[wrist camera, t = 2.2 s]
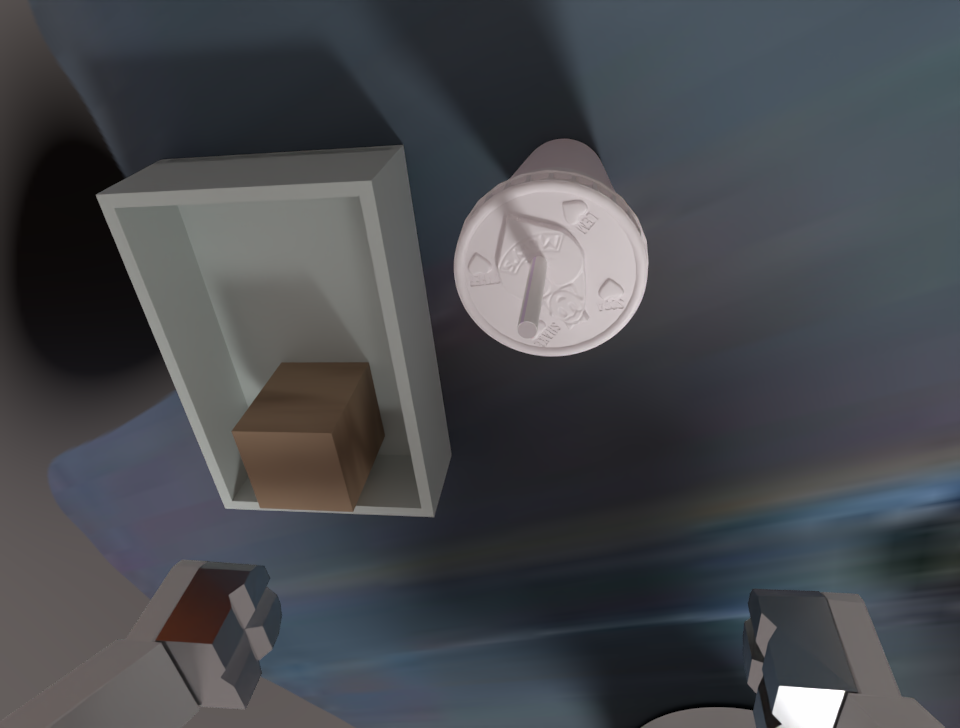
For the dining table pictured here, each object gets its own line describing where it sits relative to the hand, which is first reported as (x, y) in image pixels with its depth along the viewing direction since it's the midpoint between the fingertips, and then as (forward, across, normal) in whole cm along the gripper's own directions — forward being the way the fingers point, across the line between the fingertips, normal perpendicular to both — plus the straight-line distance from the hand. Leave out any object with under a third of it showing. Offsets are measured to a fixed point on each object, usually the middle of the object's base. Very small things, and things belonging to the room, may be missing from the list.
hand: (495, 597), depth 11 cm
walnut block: (+22, +13, +12) cm, 28 cm away
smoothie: (+22, 0, 0) cm, 23 cm away
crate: (+22, +13, +7) cm, 27 cm away
